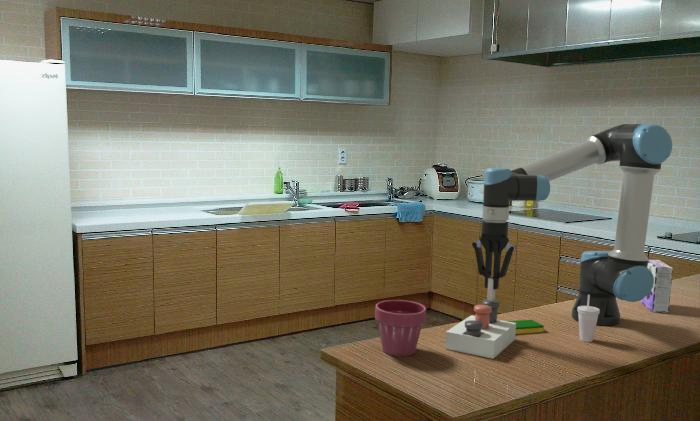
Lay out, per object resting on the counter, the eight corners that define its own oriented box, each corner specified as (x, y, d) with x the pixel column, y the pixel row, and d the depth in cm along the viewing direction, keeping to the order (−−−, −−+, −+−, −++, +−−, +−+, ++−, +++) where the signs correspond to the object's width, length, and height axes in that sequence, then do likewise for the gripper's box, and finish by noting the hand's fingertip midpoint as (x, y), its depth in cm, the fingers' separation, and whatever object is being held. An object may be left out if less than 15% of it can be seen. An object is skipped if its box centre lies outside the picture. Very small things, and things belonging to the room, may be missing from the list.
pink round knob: (493, 326, 187) (494, 306, 187) (487, 330, 183) (488, 310, 182) (476, 323, 190) (477, 303, 189) (470, 327, 186) (471, 307, 185)
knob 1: (484, 343, 182) (485, 322, 181) (478, 347, 178) (479, 326, 177) (467, 339, 184) (468, 319, 184) (461, 344, 180) (462, 323, 179)
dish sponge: (544, 333, 200) (544, 325, 200) (504, 336, 196) (504, 328, 196) (531, 326, 207) (531, 319, 207) (492, 329, 203) (493, 321, 203)
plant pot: (432, 357, 175) (434, 311, 173) (383, 361, 171) (385, 314, 169) (412, 340, 188) (414, 298, 187) (367, 344, 184) (368, 300, 183)
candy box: (639, 302, 239) (643, 258, 237) (656, 303, 238) (660, 259, 236) (651, 312, 225) (655, 266, 223) (669, 313, 224) (673, 267, 222)
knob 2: (500, 320, 193) (501, 301, 193) (495, 324, 189) (496, 305, 188) (484, 318, 196) (485, 298, 195) (479, 321, 192) (480, 302, 191)
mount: (515, 339, 192) (516, 323, 191) (493, 358, 175) (494, 340, 174) (470, 330, 199) (471, 315, 199) (445, 348, 182) (445, 331, 182)
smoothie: (571, 339, 193) (574, 294, 191) (580, 335, 198) (583, 290, 196) (592, 344, 189) (595, 298, 187) (601, 340, 193) (604, 294, 192)
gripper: (469, 220, 189) (465, 298, 192) (513, 224, 182) (508, 305, 185) (478, 217, 195) (474, 293, 198) (520, 221, 189) (516, 300, 192)
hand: (490, 299), depth 192 cm, fingers closed
